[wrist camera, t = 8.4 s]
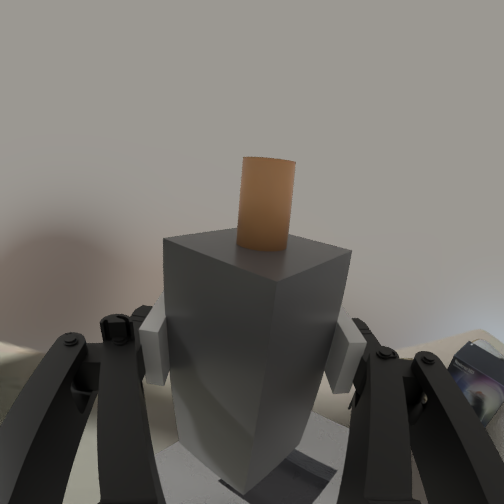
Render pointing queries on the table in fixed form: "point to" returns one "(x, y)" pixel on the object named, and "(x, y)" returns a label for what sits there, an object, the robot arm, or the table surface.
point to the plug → (250, 329)
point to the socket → (275, 483)
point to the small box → (479, 379)
